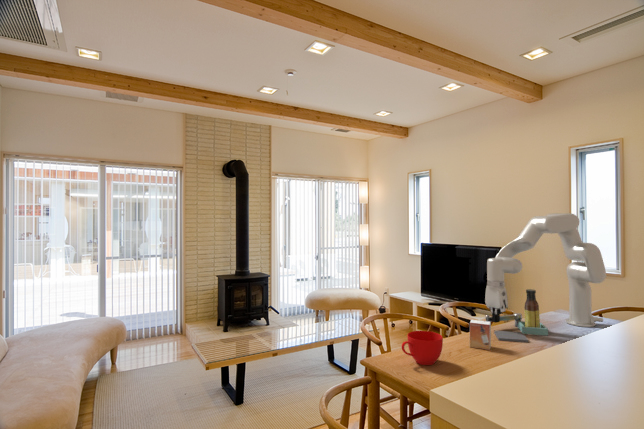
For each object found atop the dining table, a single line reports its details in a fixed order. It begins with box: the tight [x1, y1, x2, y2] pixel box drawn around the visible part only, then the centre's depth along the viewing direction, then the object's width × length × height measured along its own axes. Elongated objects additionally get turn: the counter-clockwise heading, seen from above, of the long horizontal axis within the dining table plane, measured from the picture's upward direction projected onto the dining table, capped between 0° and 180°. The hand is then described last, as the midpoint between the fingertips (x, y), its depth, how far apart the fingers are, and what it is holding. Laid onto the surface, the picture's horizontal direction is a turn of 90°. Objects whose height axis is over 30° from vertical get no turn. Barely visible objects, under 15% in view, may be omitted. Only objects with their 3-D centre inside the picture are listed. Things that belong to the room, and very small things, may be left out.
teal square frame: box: [514, 319, 549, 336], centre depth 184 cm, size 12×14×4 cm
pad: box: [493, 330, 529, 343], centre depth 174 cm, size 12×12×1 cm
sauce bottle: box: [524, 288, 541, 328], centre depth 183 cm, size 6×6×20 cm
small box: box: [469, 319, 492, 351], centre depth 161 cm, size 8×6×10 cm
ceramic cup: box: [401, 330, 444, 366], centre depth 144 cm, size 13×17×10 cm
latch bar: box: [485, 312, 523, 323], centre depth 188 cm, size 4×21×3 cm, turn 106°
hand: (495, 321), depth 184 cm, fingers closed
